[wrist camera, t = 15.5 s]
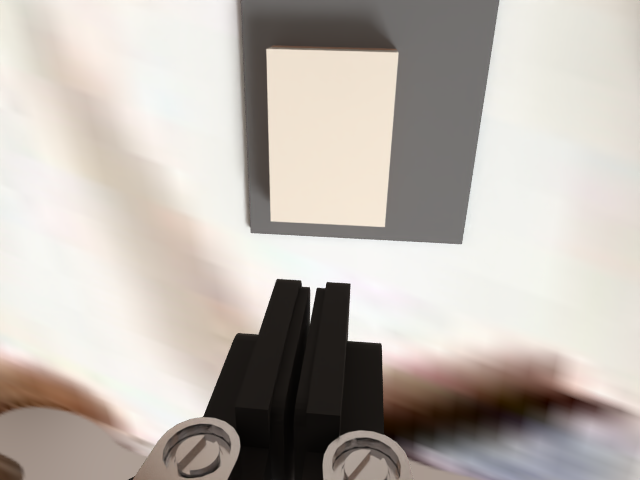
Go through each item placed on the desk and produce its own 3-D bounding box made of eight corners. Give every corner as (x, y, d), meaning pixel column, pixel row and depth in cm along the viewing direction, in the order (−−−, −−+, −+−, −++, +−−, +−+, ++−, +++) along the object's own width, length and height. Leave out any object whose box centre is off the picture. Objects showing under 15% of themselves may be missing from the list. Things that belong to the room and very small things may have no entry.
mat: (231, -281, 24) (229, -286, 23) (540, -285, 23) (543, -291, 22) (252, 229, 35) (250, 232, 34) (460, 240, 34) (461, 244, 34)
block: (396, 48, 29) (273, 45, 29) (398, 52, 27) (266, 48, 27) (383, 213, 33) (276, 208, 34) (384, 227, 31) (270, 221, 32)
